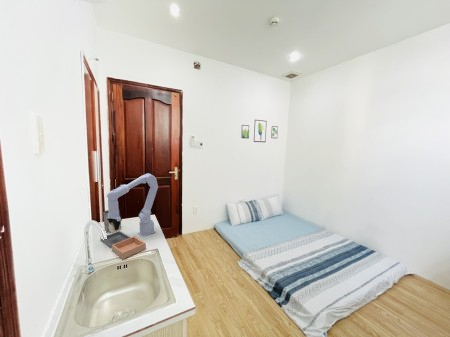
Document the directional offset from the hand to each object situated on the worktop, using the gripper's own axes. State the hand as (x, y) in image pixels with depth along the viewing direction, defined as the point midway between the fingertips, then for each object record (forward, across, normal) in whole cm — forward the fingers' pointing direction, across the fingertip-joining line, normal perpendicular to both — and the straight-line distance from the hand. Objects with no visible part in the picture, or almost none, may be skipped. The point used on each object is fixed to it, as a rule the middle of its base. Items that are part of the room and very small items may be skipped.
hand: (115, 228), depth 127 cm
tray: (+9, 0, 0) cm, 9 cm away
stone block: (+1, 0, 0) cm, 1 cm away
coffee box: (+9, -18, +6) cm, 21 cm away
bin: (+9, +18, 0) cm, 20 cm away
